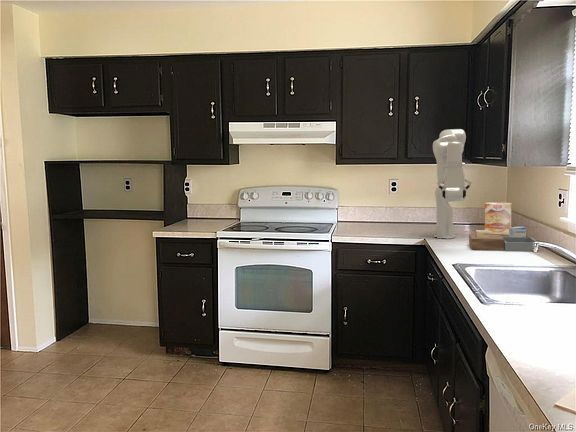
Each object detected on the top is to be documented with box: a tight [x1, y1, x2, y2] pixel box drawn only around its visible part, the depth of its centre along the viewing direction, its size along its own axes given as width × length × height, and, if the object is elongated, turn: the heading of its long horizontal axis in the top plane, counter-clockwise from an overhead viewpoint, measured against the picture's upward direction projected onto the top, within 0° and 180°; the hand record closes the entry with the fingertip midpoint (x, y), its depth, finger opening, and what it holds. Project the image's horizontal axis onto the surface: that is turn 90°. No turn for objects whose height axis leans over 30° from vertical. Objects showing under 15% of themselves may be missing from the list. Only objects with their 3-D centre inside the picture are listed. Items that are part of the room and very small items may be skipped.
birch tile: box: [475, 229, 489, 238], centre depth 268 cm, size 6×6×3 cm
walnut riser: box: [468, 233, 505, 252], centre depth 268 cm, size 16×16×6 cm
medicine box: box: [508, 226, 527, 237], centre depth 281 cm, size 8×4×9 cm, turn 105°
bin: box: [502, 236, 540, 253], centre depth 264 cm, size 18×16×4 cm
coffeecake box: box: [484, 202, 513, 236], centre depth 312 cm, size 15×7×20 cm, turn 62°
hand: (454, 198), depth 261 cm, fingers open, 9 cm apart
